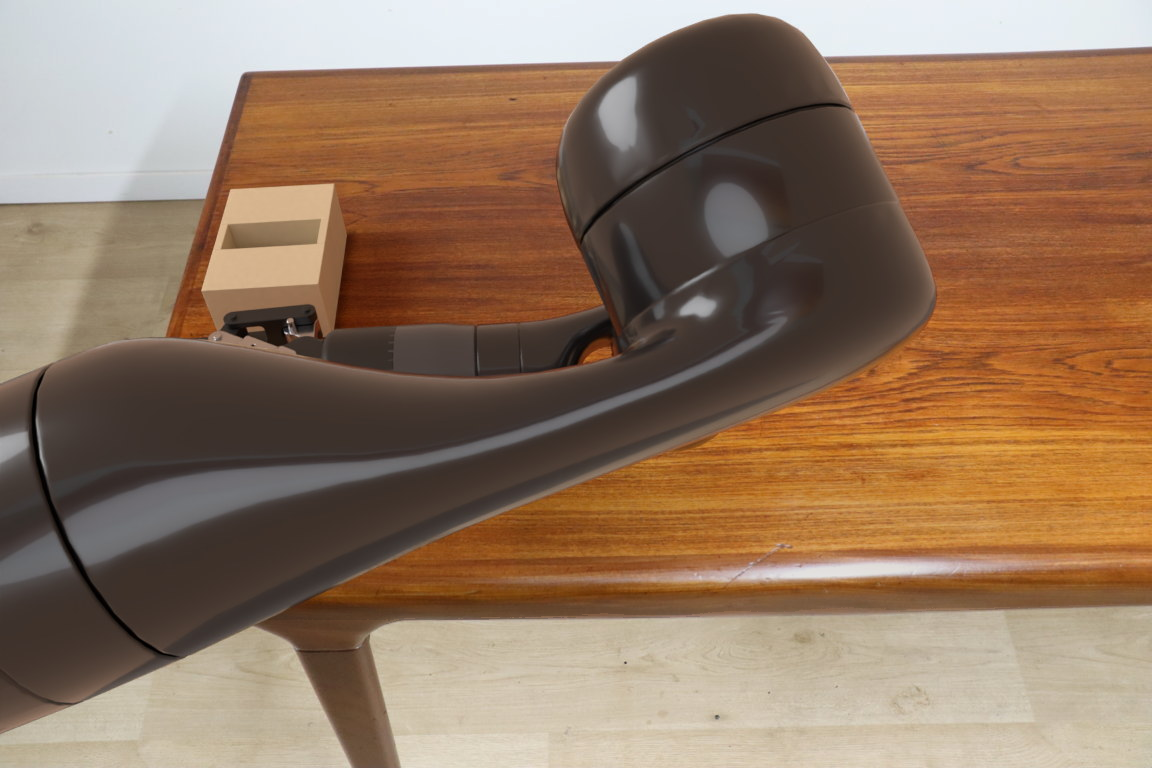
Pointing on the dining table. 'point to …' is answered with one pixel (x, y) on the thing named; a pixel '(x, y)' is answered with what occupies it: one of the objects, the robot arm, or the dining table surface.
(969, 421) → the dining table surface
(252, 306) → the tan slotted wooden block
